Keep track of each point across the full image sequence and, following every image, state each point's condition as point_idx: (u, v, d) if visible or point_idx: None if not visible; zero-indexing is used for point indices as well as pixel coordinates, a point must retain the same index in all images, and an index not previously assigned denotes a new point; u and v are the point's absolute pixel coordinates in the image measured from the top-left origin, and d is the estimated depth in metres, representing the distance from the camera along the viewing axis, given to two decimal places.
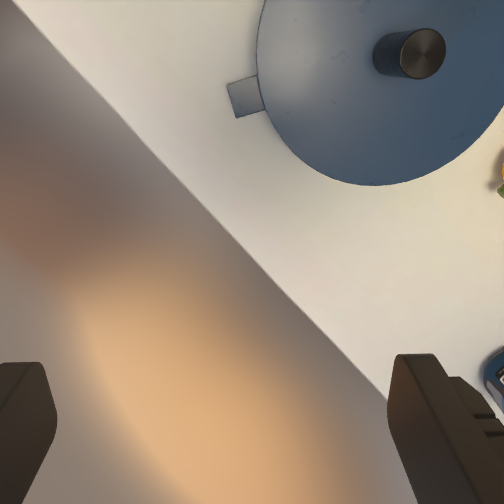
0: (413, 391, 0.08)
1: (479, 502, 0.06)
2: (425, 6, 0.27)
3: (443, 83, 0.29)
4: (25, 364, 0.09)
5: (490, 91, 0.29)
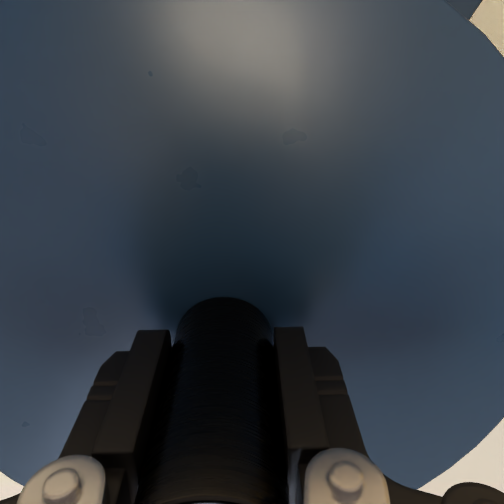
0: (277, 358, 0.09)
1: (287, 442, 0.07)
2: (191, 223, 0.10)
3: (378, 288, 0.11)
4: (160, 331, 0.10)
5: None
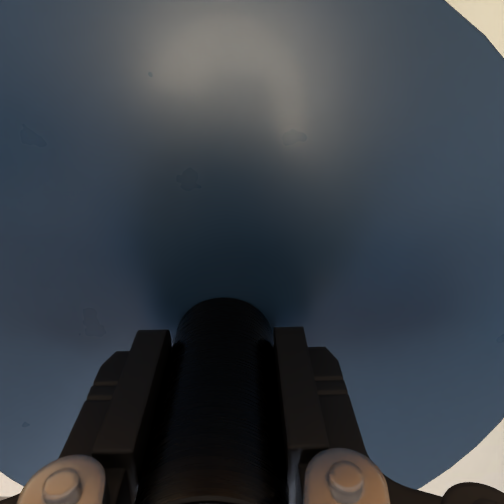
0: (277, 358, 0.09)
1: (287, 442, 0.07)
2: (191, 223, 0.10)
3: (378, 289, 0.11)
4: (160, 331, 0.10)
5: None
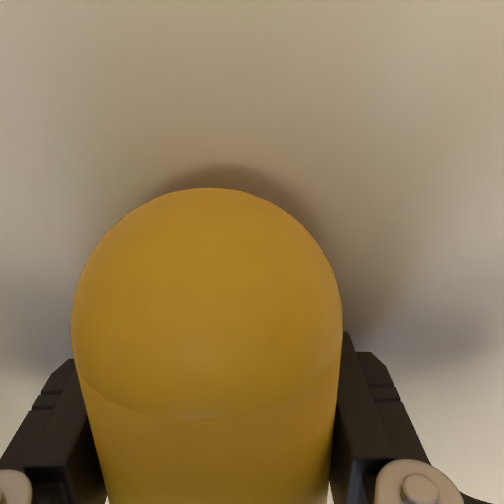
0: None
1: (350, 453, 0.07)
2: None
3: None
4: None
5: None
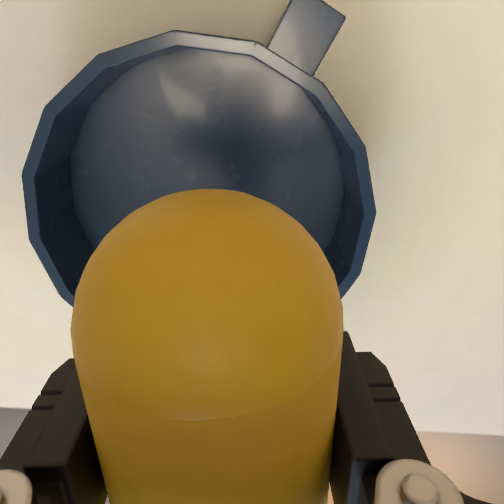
0: None
1: (350, 453, 0.07)
2: None
3: None
4: None
5: None
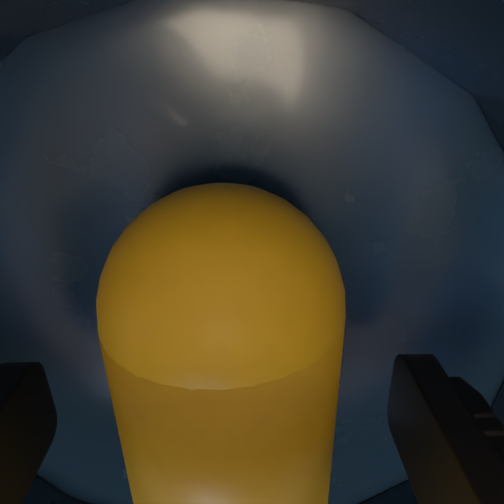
0: (413, 391, 0.08)
1: (479, 502, 0.06)
2: None
3: None
4: (25, 364, 0.09)
5: None
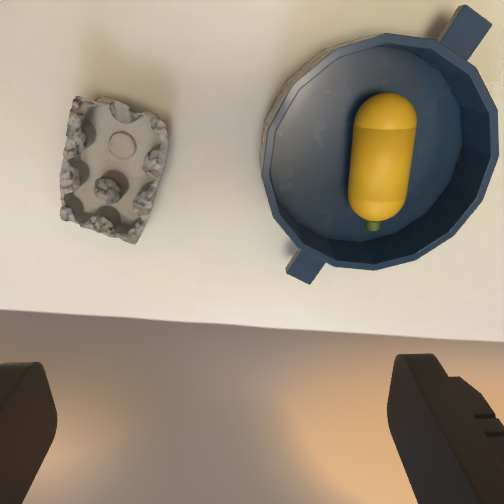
0: (413, 391, 0.08)
1: (479, 502, 0.06)
2: None
3: None
4: (25, 364, 0.09)
5: None
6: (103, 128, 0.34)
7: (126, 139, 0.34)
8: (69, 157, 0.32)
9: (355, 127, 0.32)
